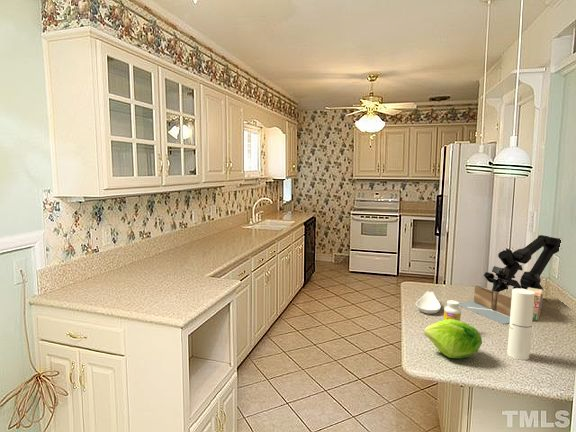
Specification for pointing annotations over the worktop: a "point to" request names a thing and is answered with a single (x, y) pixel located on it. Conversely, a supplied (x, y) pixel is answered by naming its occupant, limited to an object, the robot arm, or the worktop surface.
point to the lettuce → (454, 338)
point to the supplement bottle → (452, 310)
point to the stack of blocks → (537, 302)
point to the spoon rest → (428, 303)
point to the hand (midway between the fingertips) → (492, 293)
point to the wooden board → (483, 296)
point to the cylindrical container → (520, 323)
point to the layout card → (486, 312)
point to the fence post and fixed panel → (501, 303)
